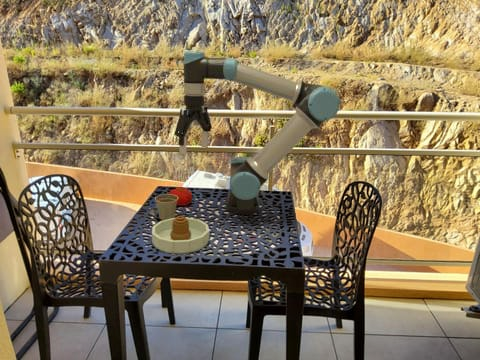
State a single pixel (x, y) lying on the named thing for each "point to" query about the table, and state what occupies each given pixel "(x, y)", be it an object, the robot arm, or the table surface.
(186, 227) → the ornamental finial
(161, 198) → the flower pot
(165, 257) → the table surface
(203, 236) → the bowl
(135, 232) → the table surface
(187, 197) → the tomato
